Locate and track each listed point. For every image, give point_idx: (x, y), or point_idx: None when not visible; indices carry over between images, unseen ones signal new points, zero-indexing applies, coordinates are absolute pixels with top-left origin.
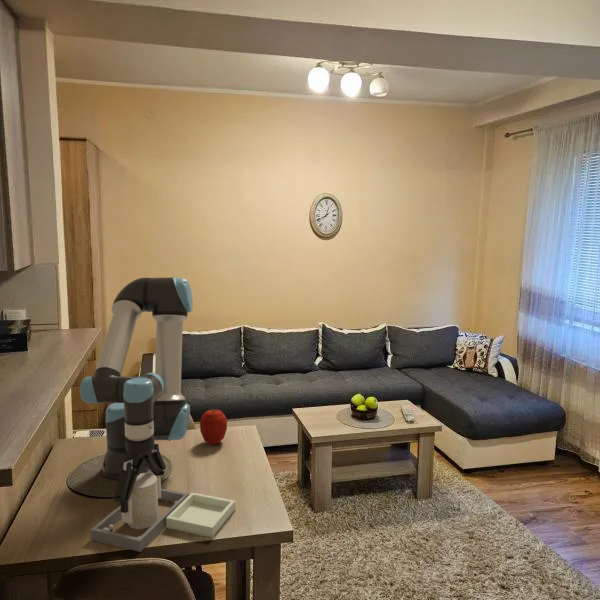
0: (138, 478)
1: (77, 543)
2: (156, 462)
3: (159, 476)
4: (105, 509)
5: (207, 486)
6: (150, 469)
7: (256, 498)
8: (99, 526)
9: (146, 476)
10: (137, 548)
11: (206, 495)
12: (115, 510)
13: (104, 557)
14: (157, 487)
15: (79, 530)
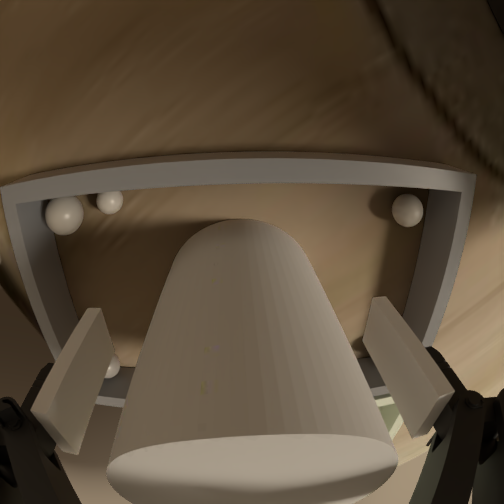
0: (277, 485)
1: (2, 141)
2: (492, 474)
3: (419, 435)
4: (263, 34)
5: (483, 342)
6: (439, 465)
7: (413, 444)
8: (34, 200)
9: (334, 491)
10: None
11: (399, 425)
12: (176, 171)
13: (11, 291)
14: (389, 372)
15: (60, 65)
